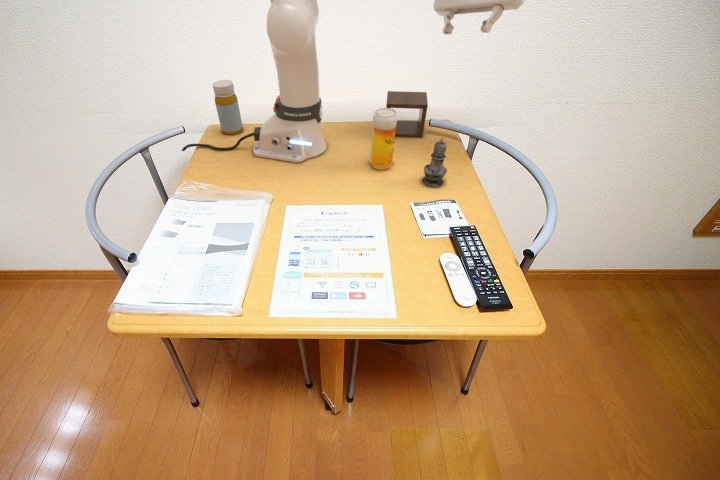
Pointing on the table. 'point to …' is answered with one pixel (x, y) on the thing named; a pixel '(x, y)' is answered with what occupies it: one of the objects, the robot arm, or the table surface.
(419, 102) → the shelf
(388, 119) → the beer can
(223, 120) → the bottle
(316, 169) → the table surface
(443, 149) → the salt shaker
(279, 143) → the robot arm
